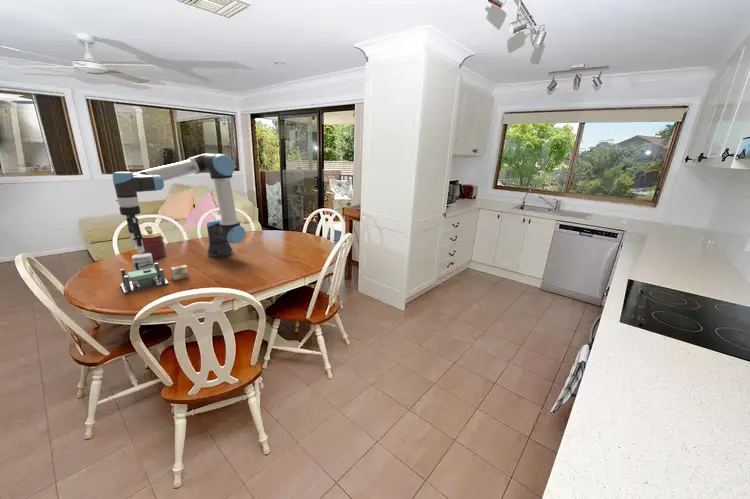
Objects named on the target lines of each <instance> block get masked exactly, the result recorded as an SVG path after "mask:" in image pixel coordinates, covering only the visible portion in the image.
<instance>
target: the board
mask: <svg viewBox="0 0 750 499" xmlns="http://www.w3.org/2000/svg"><path fill="white" fill-rule="evenodd" d="M127 276H128V277H129V282H131V281H135V280H141V279H146V278H151V277H155V276H158V273H157V271H156V270H155V267H154V268H149V269H144V270H138V271H134V270H133V271H129V272H127Z"/></svg>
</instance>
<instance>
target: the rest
mask: <svg viewBox="0 0 750 499" xmlns="http://www.w3.org/2000/svg"><path fill="white" fill-rule="evenodd" d="M170 271H171V277H172V279H173V281H175V280H181V279H186V278H188V277H190V274H189V268H188V266H187V265H186V264H183V265H177V266H172V267H170Z"/></svg>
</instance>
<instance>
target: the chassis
mask: <svg viewBox="0 0 750 499" xmlns="http://www.w3.org/2000/svg"><path fill="white" fill-rule="evenodd" d="M153 264H154V269H155V270H156V271H157V273H158V276H155V277H150V278H145V279H140V280H135V281H130V279H129V277H128V275H126V274H127V273H126V270H125V268H121V269H120V274H121V277H122V278H121V279H122V283H119V284H120V288H121V289H122V291H123V293H124V295H128V294H133V293H137V292H143V291H145V290H146V291H147V290H151V289H156V288H161V287H165V286H169V285H170V284H169V281H168V280H167V279H166V278H165V272H164V269H163V268H160V266H159V263H158V262H155V263H154V262H153Z"/></svg>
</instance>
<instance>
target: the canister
mask: <svg viewBox="0 0 750 499" xmlns="http://www.w3.org/2000/svg"><path fill="white" fill-rule="evenodd" d="M141 235H142V237H143V238H142V242H143V246H144V251H145V252H142V253H140V254H146V253H151V254H152V259H153V260H157V259H162V258H164V257H166V256H167V250H166V246H165V241H164V236H162V232H161V233H160V232H159V231H153V229H147V230H146V231H145V232H143V233H142V232H141Z"/></svg>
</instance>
